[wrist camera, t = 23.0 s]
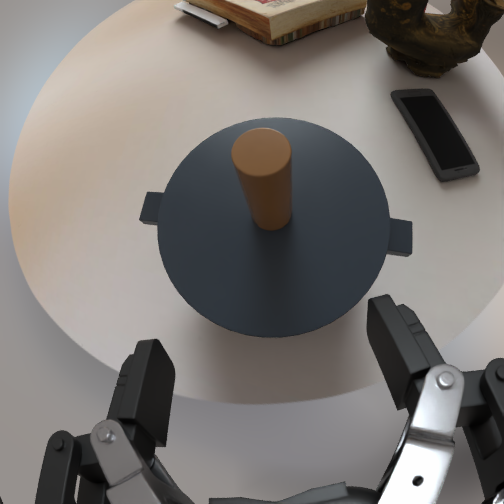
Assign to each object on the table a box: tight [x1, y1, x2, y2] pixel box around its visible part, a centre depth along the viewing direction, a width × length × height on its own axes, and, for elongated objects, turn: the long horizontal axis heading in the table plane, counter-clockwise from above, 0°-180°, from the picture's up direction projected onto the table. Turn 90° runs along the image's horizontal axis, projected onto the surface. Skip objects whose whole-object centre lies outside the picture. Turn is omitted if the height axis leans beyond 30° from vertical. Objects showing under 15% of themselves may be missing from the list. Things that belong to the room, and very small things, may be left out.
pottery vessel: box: [365, 0, 504, 78], centre depth 24 cm, size 25×11×20 cm, turn 102°
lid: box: [157, 118, 390, 337], centre depth 16 cm, size 16×16×8 cm
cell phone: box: [391, 89, 480, 181], centre depth 29 cm, size 7×14×1 cm, turn 14°
